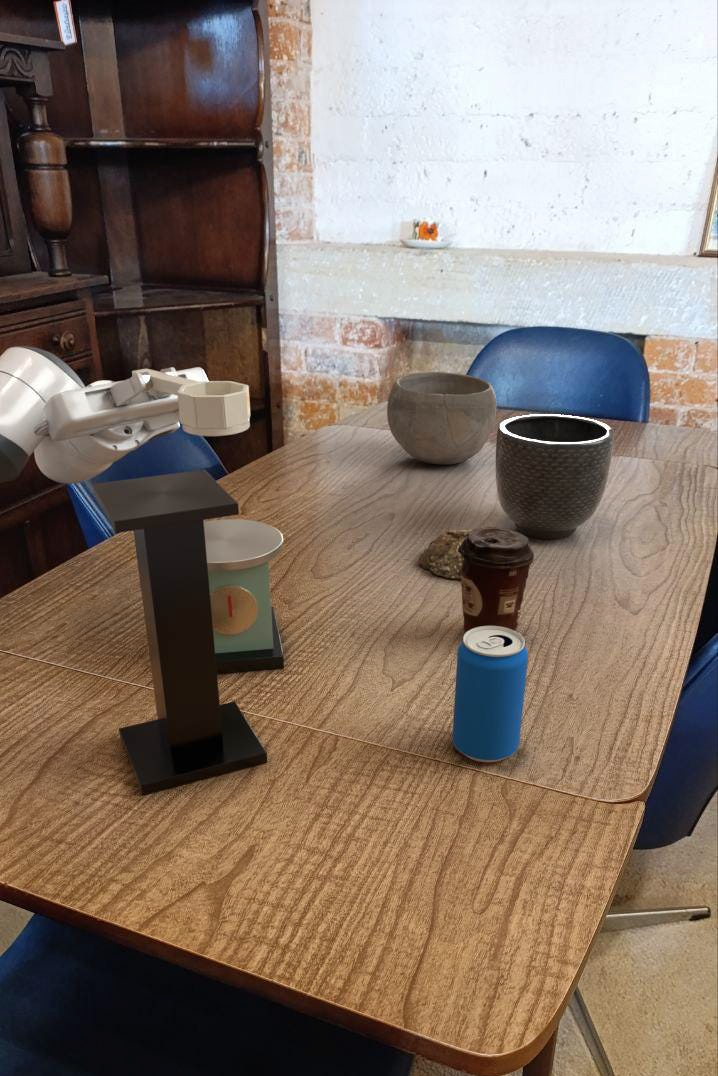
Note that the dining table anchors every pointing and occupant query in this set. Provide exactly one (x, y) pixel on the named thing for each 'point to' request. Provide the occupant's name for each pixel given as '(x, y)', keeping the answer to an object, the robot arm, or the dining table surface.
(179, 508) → the shelf stand
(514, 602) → the coffee cup
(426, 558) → the brown rock
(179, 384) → the handled bowl
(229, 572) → the scale
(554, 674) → the dining table surface
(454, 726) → the beverage can
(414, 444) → the bowl
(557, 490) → the planter
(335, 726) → the dining table surface
